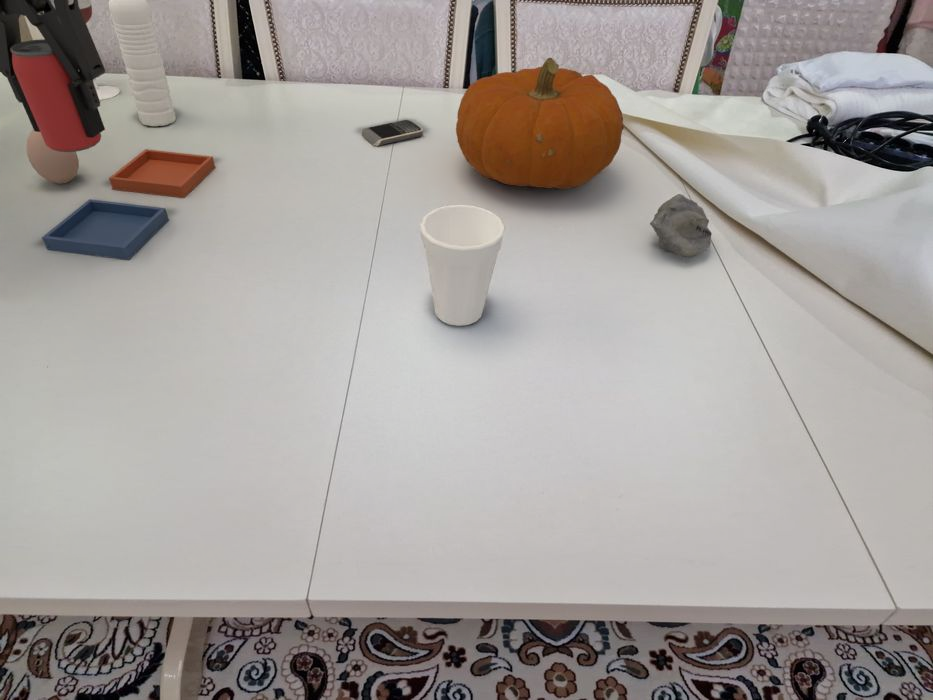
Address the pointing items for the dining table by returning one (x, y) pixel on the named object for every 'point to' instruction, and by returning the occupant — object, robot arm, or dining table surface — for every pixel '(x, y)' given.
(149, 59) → the water bottle
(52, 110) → the beer can
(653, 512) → the dining table surface
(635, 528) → the dining table surface
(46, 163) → the egg
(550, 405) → the dining table surface
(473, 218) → the cup
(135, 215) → the blue tray
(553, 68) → the pumpkin
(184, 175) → the terracotta tray
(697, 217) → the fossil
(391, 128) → the cell phone
